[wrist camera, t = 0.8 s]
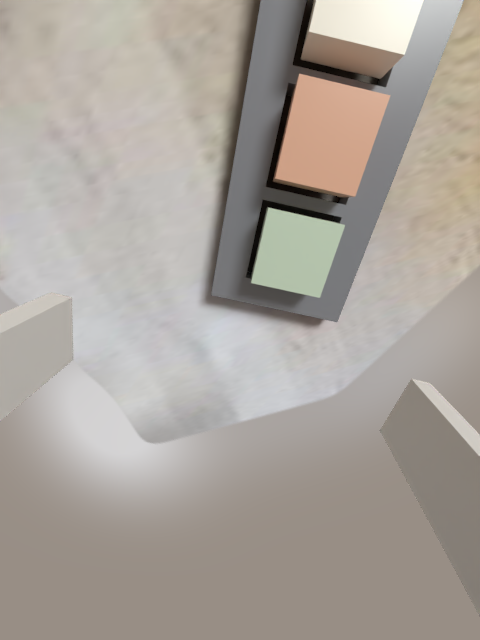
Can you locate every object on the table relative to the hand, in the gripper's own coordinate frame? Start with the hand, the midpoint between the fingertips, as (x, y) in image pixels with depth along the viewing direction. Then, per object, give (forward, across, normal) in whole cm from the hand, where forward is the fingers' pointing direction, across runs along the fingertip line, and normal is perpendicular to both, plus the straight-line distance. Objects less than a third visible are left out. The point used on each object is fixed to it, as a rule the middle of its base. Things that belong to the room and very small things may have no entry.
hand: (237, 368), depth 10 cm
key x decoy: (+17, +3, +11) cm, 20 cm away
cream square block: (+17, +3, +19) cm, 25 cm away
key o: (+17, +3, +3) cm, 17 cm away
